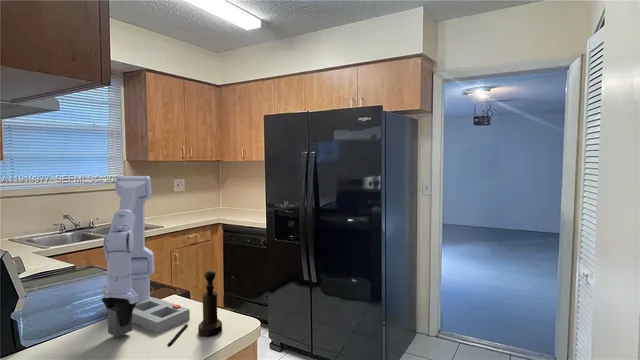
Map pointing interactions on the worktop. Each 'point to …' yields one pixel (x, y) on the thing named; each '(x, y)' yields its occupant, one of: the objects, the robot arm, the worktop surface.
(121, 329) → the plug
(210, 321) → the dark brown pepper mill
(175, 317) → the socket plate
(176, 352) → the worktop surface
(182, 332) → the thin black rod
